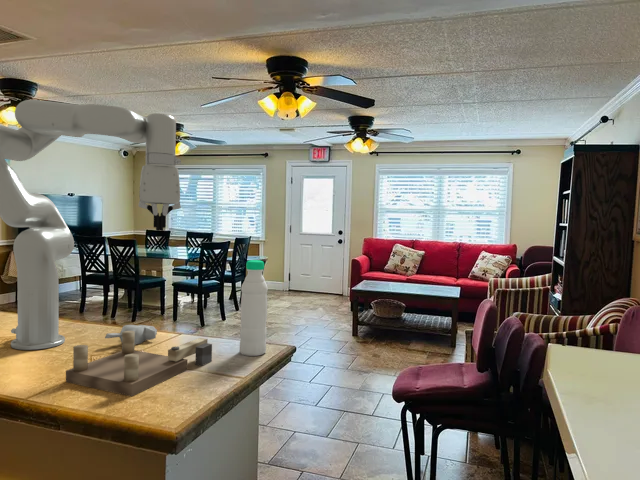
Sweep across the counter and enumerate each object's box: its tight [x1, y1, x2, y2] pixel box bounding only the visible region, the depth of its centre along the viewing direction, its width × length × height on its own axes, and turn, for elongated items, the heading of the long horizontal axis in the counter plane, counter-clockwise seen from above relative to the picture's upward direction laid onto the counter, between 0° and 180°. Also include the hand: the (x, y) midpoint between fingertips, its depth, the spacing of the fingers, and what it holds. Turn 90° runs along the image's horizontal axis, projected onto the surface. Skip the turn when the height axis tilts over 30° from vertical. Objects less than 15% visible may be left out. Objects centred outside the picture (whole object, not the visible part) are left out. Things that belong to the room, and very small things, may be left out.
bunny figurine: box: [104, 324, 158, 346], centre depth 133 cm, size 10×5×15 cm
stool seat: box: [65, 331, 213, 397], centre depth 110 cm, size 19×26×8 cm
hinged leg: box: [167, 337, 208, 361], centre depth 115 cm, size 12×2×3 cm, turn 158°
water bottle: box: [239, 259, 268, 357], centre depth 126 cm, size 7×7×25 cm
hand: (159, 230), depth 127 cm, fingers closed
